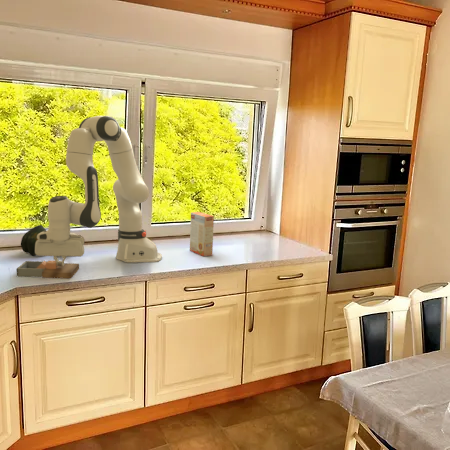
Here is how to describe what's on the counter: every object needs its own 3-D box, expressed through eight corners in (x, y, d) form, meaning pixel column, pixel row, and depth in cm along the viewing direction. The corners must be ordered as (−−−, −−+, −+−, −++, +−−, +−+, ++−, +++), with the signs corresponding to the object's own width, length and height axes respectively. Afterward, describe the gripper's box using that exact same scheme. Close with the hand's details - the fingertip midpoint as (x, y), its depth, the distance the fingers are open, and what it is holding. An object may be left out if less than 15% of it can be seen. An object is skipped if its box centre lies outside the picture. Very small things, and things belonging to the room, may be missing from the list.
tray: (51, 269, 214) (51, 261, 214) (43, 277, 203) (42, 269, 202) (26, 268, 213) (26, 260, 213) (16, 276, 202) (16, 268, 201)
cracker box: (213, 255, 248) (214, 215, 244) (203, 256, 245) (204, 216, 241) (199, 249, 259) (200, 211, 255) (189, 250, 256) (190, 212, 252)
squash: (15, 248, 226) (36, 223, 228) (15, 242, 240) (35, 219, 242) (40, 265, 232) (61, 241, 234) (38, 259, 245) (58, 236, 248)
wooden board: (79, 268, 216) (79, 263, 216) (71, 278, 202) (71, 272, 202) (52, 268, 215) (51, 263, 215) (42, 277, 202) (42, 272, 201)
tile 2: (58, 266, 210) (58, 260, 210) (55, 268, 206) (55, 263, 206) (48, 266, 210) (48, 260, 209) (46, 268, 206) (46, 263, 205)
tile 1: (48, 264, 210) (44, 260, 209) (46, 267, 206) (41, 263, 205) (42, 270, 210) (37, 266, 209) (39, 273, 206) (35, 269, 206)
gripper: (85, 233, 209) (86, 264, 212) (37, 232, 208) (38, 263, 210) (82, 236, 203) (83, 268, 206) (32, 235, 201) (34, 267, 204)
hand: (60, 265), depth 208 cm, fingers closed
